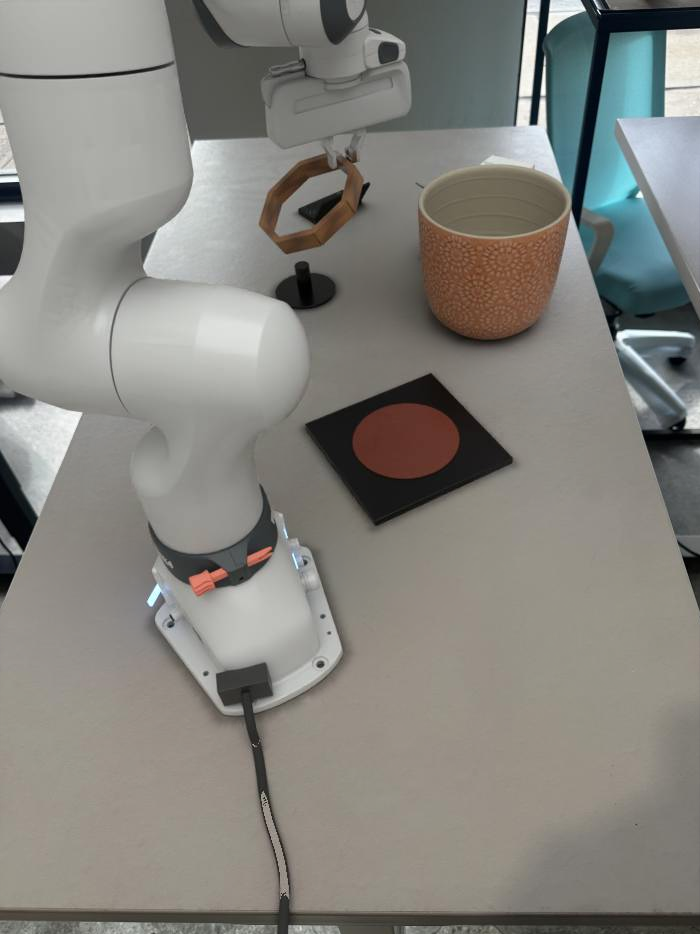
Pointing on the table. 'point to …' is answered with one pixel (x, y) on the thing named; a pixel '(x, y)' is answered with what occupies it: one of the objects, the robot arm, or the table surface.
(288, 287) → the peg stand
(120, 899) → the table surface
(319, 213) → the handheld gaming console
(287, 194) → the hoop
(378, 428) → the hob plate
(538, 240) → the planter
